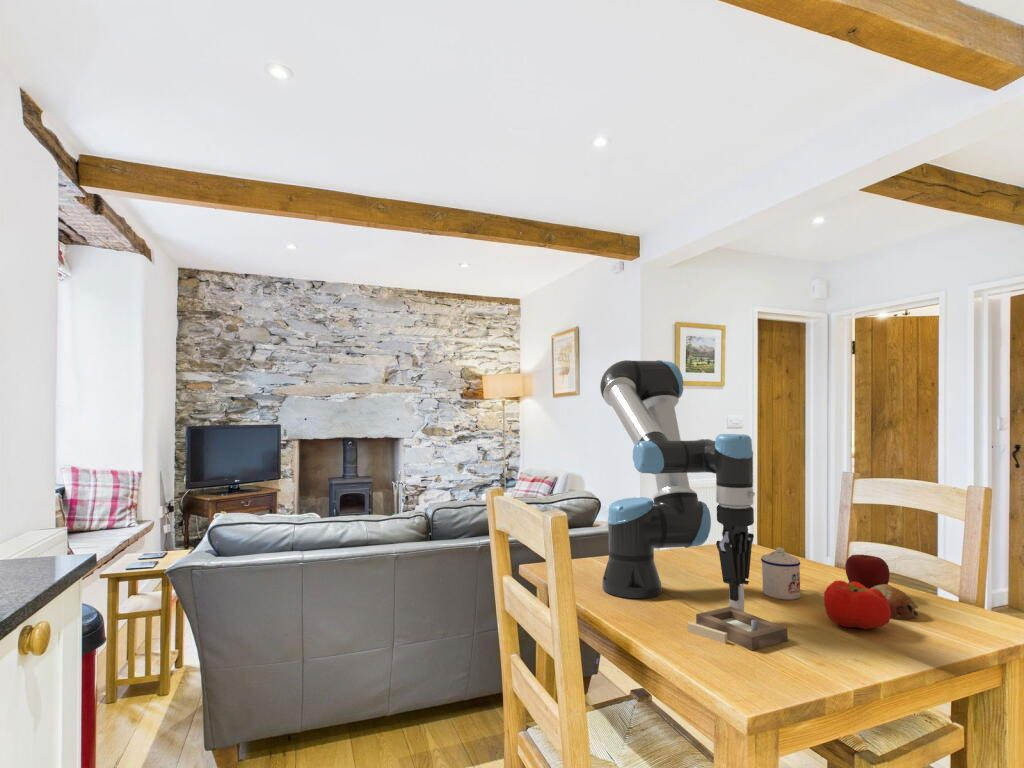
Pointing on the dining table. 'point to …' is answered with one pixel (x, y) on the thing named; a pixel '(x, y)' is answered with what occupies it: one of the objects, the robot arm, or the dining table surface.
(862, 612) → the tomato
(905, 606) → the bread roll
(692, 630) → the wall panel
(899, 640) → the dining table surface
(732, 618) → the walnut frame
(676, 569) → the dining table surface
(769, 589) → the teacup with lid
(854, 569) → the apple
